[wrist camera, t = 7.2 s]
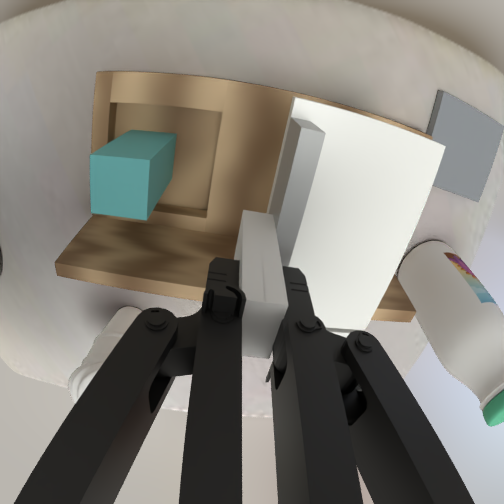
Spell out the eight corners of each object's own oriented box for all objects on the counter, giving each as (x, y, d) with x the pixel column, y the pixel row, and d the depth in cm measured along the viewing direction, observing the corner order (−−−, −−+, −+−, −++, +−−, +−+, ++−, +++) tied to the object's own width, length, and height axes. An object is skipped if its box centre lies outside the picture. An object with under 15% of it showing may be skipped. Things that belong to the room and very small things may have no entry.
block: (128, 173, 26) (91, 212, 19) (131, 129, 24) (89, 154, 17) (172, 178, 26) (146, 220, 19) (177, 133, 24) (149, 160, 17)
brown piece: (101, 217, 28) (57, 275, 20) (106, 71, 21) (44, 78, 13) (375, 259, 31) (410, 322, 23) (422, 131, 24) (485, 164, 16)
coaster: (412, 176, 27) (416, 180, 26) (438, 90, 22) (444, 91, 21) (473, 198, 28) (478, 202, 27) (498, 124, 23) (504, 126, 22)
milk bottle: (399, 302, 35) (465, 447, 18) (391, 253, 31) (481, 417, 14) (452, 278, 33) (532, 407, 16) (450, 228, 30) (559, 364, 13)
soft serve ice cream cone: (93, 320, 36) (49, 428, 22) (115, 279, 32) (61, 403, 19) (149, 351, 38) (124, 461, 25) (179, 316, 35) (155, 444, 22)
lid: (241, 265, 28) (240, 365, 19) (278, 89, 20) (307, 103, 11) (335, 278, 29) (368, 371, 20) (390, 120, 21) (476, 163, 12)
